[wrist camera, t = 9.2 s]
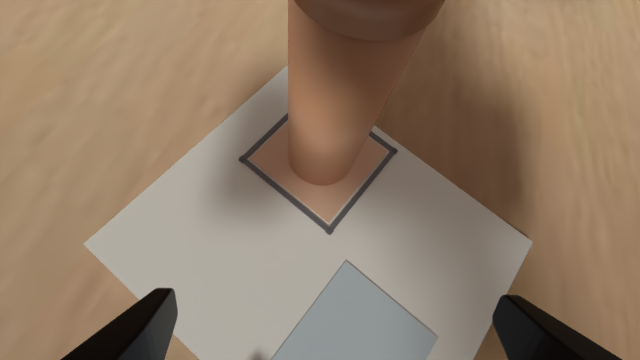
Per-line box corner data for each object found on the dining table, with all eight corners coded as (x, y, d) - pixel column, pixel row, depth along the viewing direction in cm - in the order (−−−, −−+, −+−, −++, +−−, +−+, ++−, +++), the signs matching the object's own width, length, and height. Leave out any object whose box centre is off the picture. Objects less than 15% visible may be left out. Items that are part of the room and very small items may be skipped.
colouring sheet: (528, 243, 18) (534, 242, 17) (378, 532, 13) (382, 542, 12) (289, 67, 21) (289, 61, 20) (88, 245, 16) (82, 243, 15)
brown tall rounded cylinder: (368, 165, 18) (533, -85, 6) (311, 200, 17) (369, -21, 5) (329, 113, 19) (404, -192, 7) (273, 143, 18) (242, -159, 6)
